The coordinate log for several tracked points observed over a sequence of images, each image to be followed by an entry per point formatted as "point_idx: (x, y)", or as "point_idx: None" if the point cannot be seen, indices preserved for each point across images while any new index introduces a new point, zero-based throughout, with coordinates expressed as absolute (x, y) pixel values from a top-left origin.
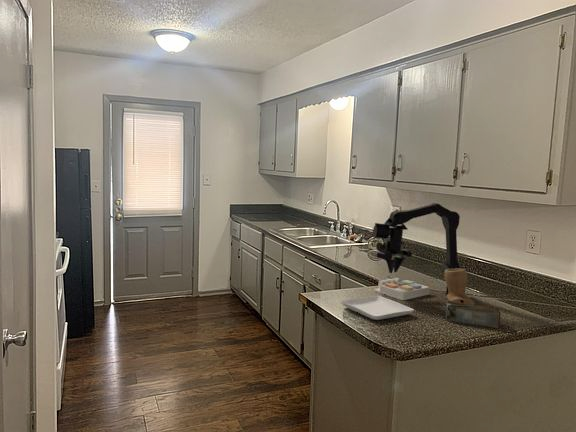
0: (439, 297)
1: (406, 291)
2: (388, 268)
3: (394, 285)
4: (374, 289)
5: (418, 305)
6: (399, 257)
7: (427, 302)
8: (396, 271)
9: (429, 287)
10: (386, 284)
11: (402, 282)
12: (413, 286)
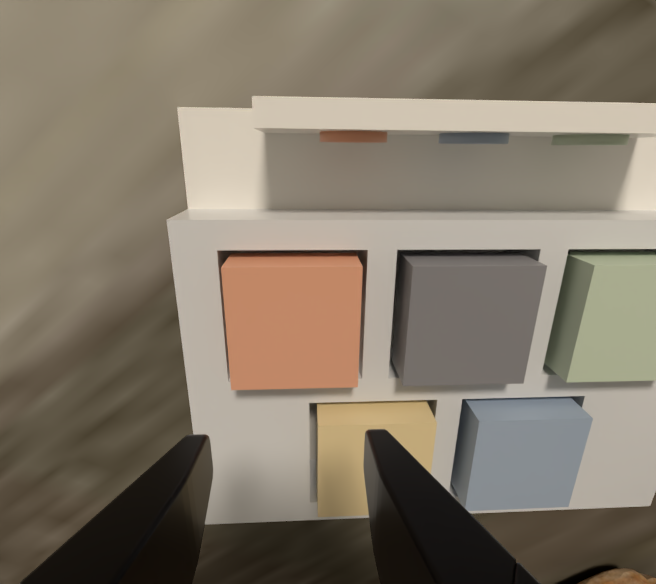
0: (573, 525)
1: (268, 514)
2: (110, 504)
3: (274, 382)
4: (179, 117)
5: (227, 576)
6: None
7: (359, 561)
8: (368, 494)
9: (640, 504)
10: (225, 289)
11: (518, 331)
12: (466, 482)
